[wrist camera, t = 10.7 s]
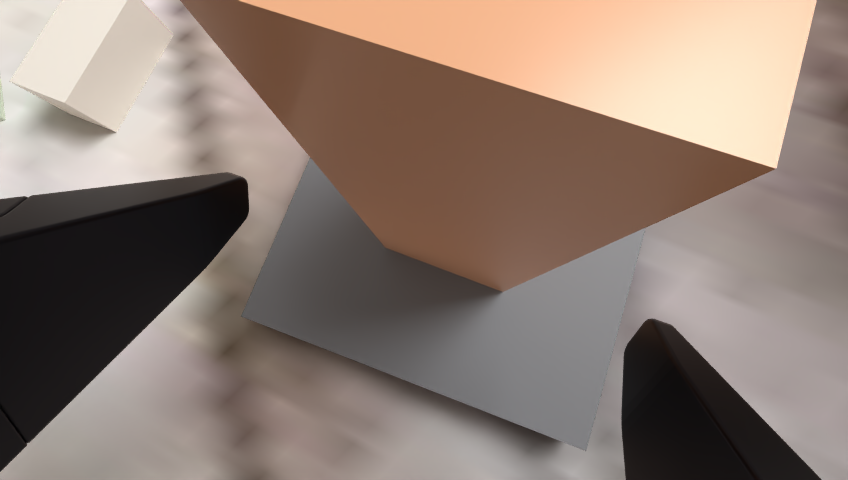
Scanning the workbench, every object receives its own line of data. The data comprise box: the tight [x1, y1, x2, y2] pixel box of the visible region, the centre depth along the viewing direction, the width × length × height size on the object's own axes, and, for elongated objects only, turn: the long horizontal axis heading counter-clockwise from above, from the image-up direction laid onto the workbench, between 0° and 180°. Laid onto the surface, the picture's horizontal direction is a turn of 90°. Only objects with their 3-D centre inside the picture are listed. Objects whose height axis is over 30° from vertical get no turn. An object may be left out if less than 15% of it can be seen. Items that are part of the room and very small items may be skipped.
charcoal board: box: [241, 157, 646, 451], centre depth 17 cm, size 14×14×2 cm
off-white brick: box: [10, 0, 174, 132], centre depth 19 cm, size 6×3×3 cm, turn 158°
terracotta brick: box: [180, 0, 817, 292], centre depth 10 cm, size 5×5×13 cm
